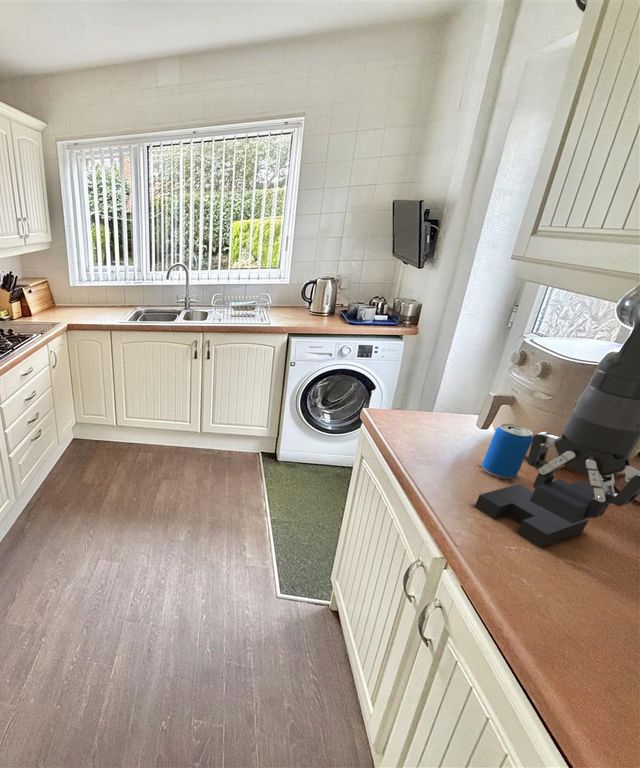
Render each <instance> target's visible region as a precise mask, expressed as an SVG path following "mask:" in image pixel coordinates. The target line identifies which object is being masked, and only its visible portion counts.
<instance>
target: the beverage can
mask: <svg viewBox="0 0 640 768" xmlns="http://www.w3.org/2000/svg"><path fill="white" fill-rule="evenodd" d="M532 440H533V432H532V430H531V429H529V428H527V427H524V426H521V425H518V424H514V423H501V424H500V425H499V426H498V427H496V429H495V431H494V433H493V436H492V438H491V440H490V443H489V445H488V447H487V451H486V453H485V456H484V458H483V461H482V463H481V467H482V468H483V469H484V470H485V472H487V473H488V474H490V475H491V476H493V477H496V478H500V479H511V478H516V477H517V476H518V473H519V471H520V470H521V467H522V465H523V463H524V460H525V458H526V457H527V454H528V452H529V450H530V448H531V444H532Z"/></svg>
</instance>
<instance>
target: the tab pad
mask: <svg viewBox="0 0 640 768" xmlns="http://www.w3.org/2000/svg"><path fill="white" fill-rule="evenodd" d="M592 498H595V496H594V490H593V487H592V486H591V485H590V482H588V481H586V480H584V479H582V480H578V481H576V482H572V483H569V482H566V481H564V480H563V479H559V478H558V479H555V480H553V481H552V482H548V483H545V484H542V485H539V486H536V488H534V490H533V494H532V496H531V498H530V501H531V502H533V503H535V504H537V505H538V506H540V507H542V508H544V509H546V510H548V511H550V512H552V513H553V514H555V515H557V516H559V517H561V518H563V519H565V520H566V521H568V522H570V523H572V524H573V523H576V522H579V521H581V520H584V519H587V520H588V518H586V517H584V516H583V515H584V513H585V511H586V510H587V508H588V505H589V503H590V501H591V499H592Z"/></svg>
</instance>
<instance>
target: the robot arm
mask: <svg viewBox="0 0 640 768" xmlns="http://www.w3.org/2000/svg"><path fill="white" fill-rule="evenodd" d="M615 317H616V319H617V321H618V322H619V323H620V324H621V325H622V326H624V327H626V328H628V329H630V330H631V331H630V333H629V335H628V336H627V338H626V339H625V341H624V342H623V344H622V345H621V347H619V348H615V349H611V350H609V351H607V352H606V353H605V354H604V355H602V357H601V359H600V361H599V362H598V364H597V366H596V368H595V370H594V372H593V374H592V376H591V378H590V381H589V382H588V385H587V386H586V387H585V389H584V390H583V392H582V393H581V395H580V396H579V398H578V400H577V401H576V402H575V404H574V408H573V410H572V412H571V415H570V416H569V419H568V420H567V423H566V425H565V427H564V429H563V431H562V433H561V436H559V437H558V436H555V435H552V434H551V433H550V432H548V431H544V432H539V433H537V434H534V435H532V437H533V440H532V443H531V445H530V448H529V454H528V457H527V460H526V461H527V462H526V463H527V464H528V465H529V466H531V467H534V468H535V469H536V470H537V471H538V473H537V475H536V478H535V480H534V481H533V484H532V487H533V488H534V489H535V488H536V486H539V485H542V484H545V483H548V482H552V481H554V479H555V476H556V474H554V472H557V471H558V470H560V469H562V468H566V469H568V470H571V471H574V472H577V473H579V474H580V475H582V476H584V477H586V478H587V479H589V483H590V485H591V486H592V487H593V490H594V496H595V498H592V499H591V501H590V503H589V505H588V508H587V510H586V511H585V513H584V515H583V516H584V517H586V518H587V520H591V519H593V518H594V519H596V518H599V517H601V516H603V515H604V514H605V512H606V511H607V509H608V507H609V506H610V504H611V505H614V506H617V507H623V506H625V505H628V504H630V503H633V502H634V501H635V500H636V499H637V498H638V496H640V470H639V469H637V468H635V467H633V466H631V463H630V457H631V455H632V453H633V452H634V450H635V448H636V446H637V445H638V443H639V441H640V284H639V285H638V286H636V287H634V288H633V289H631V290H630V291H628V292H627V293H626V294H625V295H623V297H622V298H621V299H620V300H619V301H618V303H617V305H616V307H615ZM553 445H554V447H555V449H556V452H557V455H558V456H557V457H555V458H553V459H551V460H550V461H548V462H547V461H546V460H547V456H548V455H547V454H548V452H549V447H552V446H553ZM621 472H622V473H624V481H625V482H626V484H625V485H624V486H623V487H622V488H621V489H620V490H619V491H618V493H615V488H614V485H615V483H616V482H615V476H614V474H618V473H621Z"/></svg>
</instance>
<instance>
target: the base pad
mask: <svg viewBox="0 0 640 768" xmlns="http://www.w3.org/2000/svg"><path fill="white" fill-rule="evenodd" d="M533 492H534V490H532V489H530V488H527V487H526V486H524V485H521V484H520V483H516V484H513V485H510V486H506V487H502V488H499V489H496V490H492V491H491V490H490V491H487V492H485V493H480V494H479V495H478V497H477V500H476V502H475V504H474V508H476V509H478V510H479V511H481V512H482V513H484V514H486V515H487V516H489V517H491V518H493V519H494V520H495V519H500V518H502V517H505V516H508V517H509V518H511V519H513V520H514V521H516V522H518V523H519V524H520V525H519V527H518V529H517V532H516V533H517V534H518V535H520V536H521V537H523V538H525V539H526V540H528V541H530V542H531V543H533V544H534V545H536V546H538V547H539V548H543V547H545V546H548V545H551V544H554V543H556V542H559V541H562V540H564V539H565V540H566V539H568V538H570V537H573V536H576V535H579V534H582V533H583V532H584V529H585V528H586V526H587V524H588V523H589V520H590V519H588V518H587V519H584V520H581V521H579V522H576V523H573V524H572V523H570V522H568V521H566V520H565V519H563V518H561V517H559V516H557V515H555V514H553V513H552V512H550V511H548V510H546V509H544V508H542V507H540V506H538V505H537V504H535V503H533V502H531V501H530V498H531V496H532V494H533Z"/></svg>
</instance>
